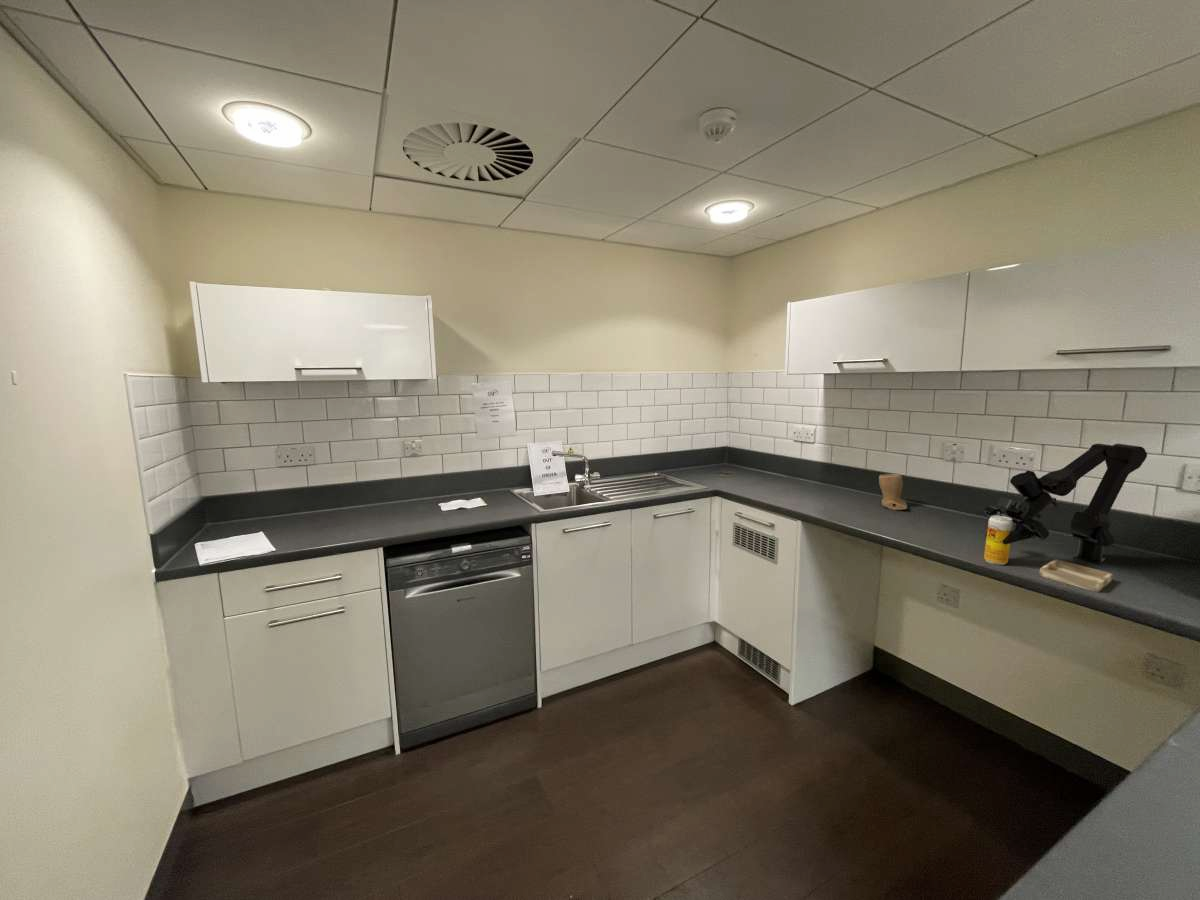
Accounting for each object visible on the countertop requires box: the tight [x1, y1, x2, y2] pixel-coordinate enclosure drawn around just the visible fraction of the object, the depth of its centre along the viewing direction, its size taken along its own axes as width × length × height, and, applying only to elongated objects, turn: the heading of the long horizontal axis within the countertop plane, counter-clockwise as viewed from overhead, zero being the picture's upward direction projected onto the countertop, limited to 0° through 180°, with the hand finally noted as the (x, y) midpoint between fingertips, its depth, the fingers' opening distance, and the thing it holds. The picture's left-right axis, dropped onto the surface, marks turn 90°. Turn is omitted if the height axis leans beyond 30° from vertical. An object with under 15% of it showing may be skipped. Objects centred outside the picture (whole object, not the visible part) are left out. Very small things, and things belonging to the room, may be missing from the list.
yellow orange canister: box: [983, 515, 1014, 566], centre depth 156 cm, size 6×6×15 cm
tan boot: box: [878, 473, 908, 511], centre depth 220 cm, size 15×12×15 cm
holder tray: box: [1038, 559, 1114, 593], centre depth 145 cm, size 13×13×2 cm
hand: (994, 539), depth 156 cm, fingers closed on yellow orange canister, 6 cm apart
